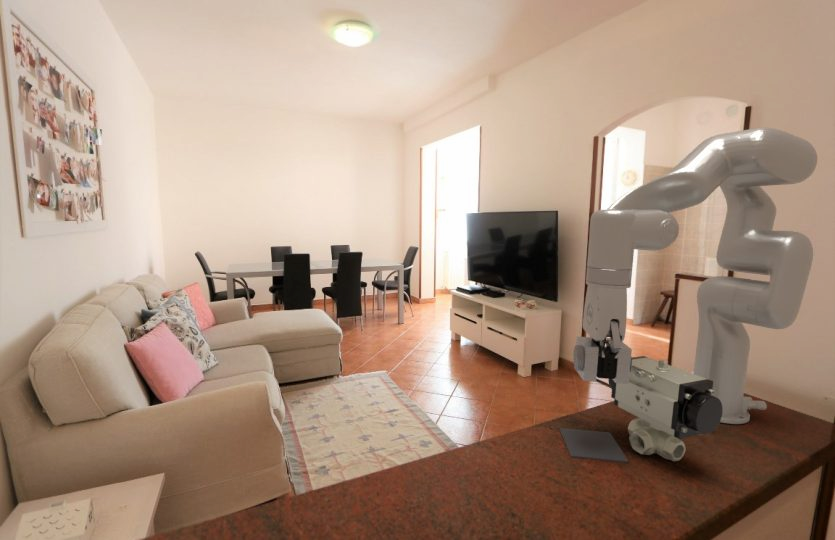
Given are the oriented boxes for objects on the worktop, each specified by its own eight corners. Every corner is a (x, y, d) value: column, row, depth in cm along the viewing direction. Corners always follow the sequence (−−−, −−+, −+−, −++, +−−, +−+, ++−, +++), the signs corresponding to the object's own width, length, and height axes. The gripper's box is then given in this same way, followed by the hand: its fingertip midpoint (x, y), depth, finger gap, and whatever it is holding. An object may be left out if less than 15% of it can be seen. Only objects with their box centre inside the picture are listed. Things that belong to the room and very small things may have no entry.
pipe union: (619, 370, 78) (621, 338, 77) (632, 384, 72) (635, 349, 71) (571, 367, 79) (573, 336, 78) (580, 380, 73) (582, 346, 72)
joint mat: (609, 433, 82) (609, 432, 81) (628, 462, 72) (628, 461, 72) (559, 429, 83) (559, 427, 83) (570, 457, 73) (571, 455, 73)
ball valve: (597, 430, 83) (604, 348, 80) (628, 424, 86) (635, 344, 83) (682, 484, 66) (693, 382, 64) (716, 474, 69) (728, 376, 67)
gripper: (575, 271, 82) (569, 356, 84) (601, 283, 65) (593, 389, 68) (613, 272, 81) (606, 358, 83) (650, 285, 64) (640, 392, 67)
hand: (600, 371), depth 75 cm, fingers closed on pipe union, 4 cm apart
